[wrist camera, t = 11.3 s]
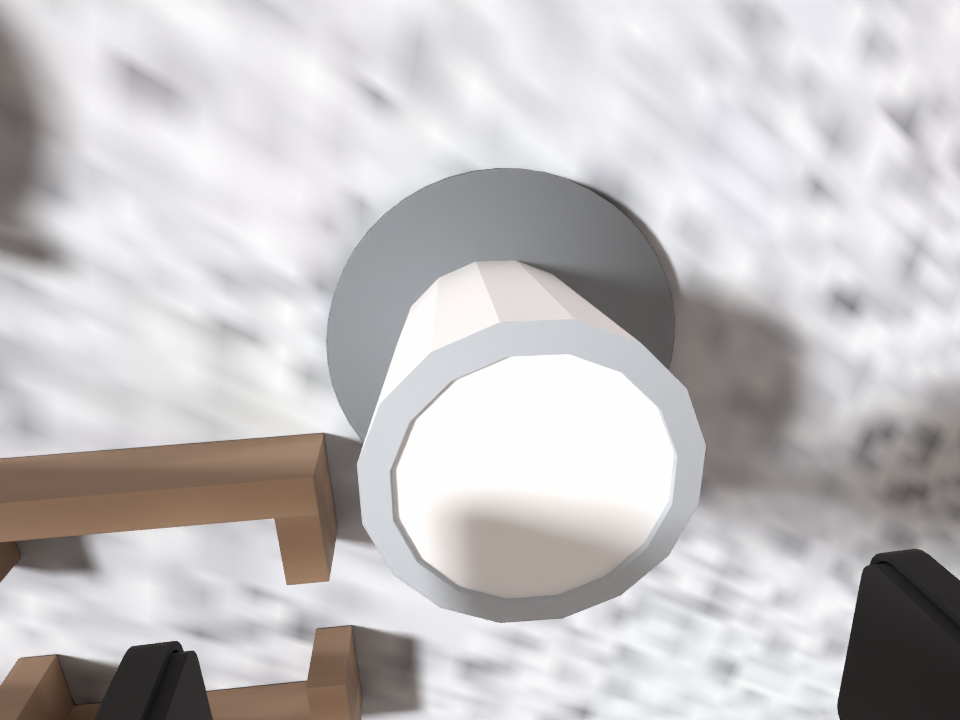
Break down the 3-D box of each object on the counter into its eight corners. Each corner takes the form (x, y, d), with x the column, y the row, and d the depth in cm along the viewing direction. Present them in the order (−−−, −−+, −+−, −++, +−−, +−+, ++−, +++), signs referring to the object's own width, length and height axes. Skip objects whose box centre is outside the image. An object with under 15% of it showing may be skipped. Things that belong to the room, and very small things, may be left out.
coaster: (657, 474, 23) (663, 484, 22) (349, 501, 22) (347, 512, 21) (678, 158, 19) (686, 160, 18) (306, 178, 18) (303, 181, 17)
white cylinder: (459, 186, 18) (484, 245, 11) (660, 317, 20) (780, 432, 13) (330, 392, 20) (289, 544, 13) (526, 495, 22) (574, 671, 15)
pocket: (362, 700, 25) (357, 763, 23) (48, 734, 24) (10, 802, 22) (323, 432, 21) (312, 476, 19) (-58, 463, 20) (-118, 513, 18)
